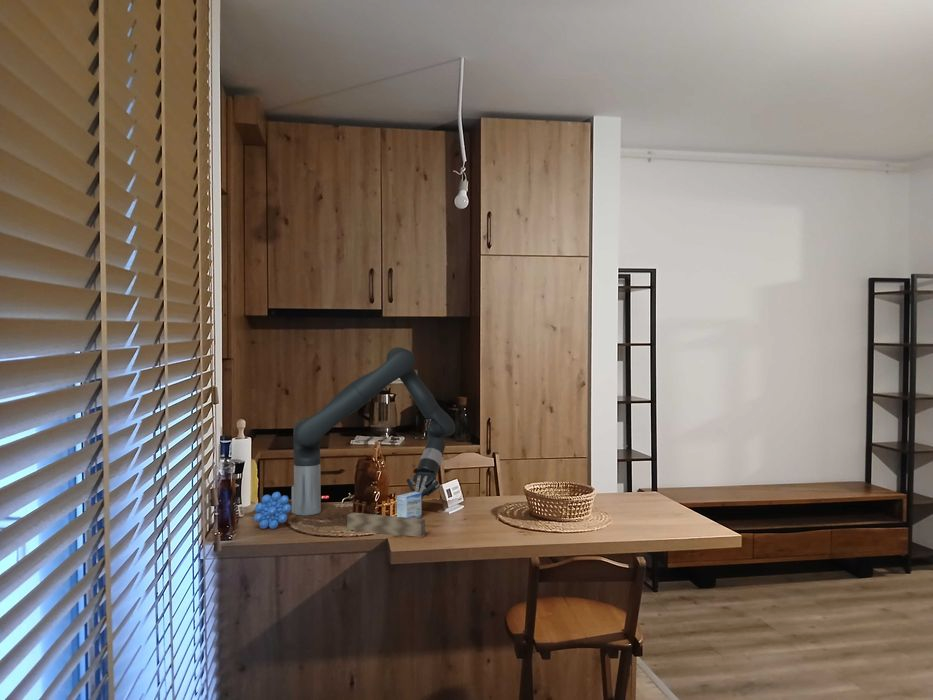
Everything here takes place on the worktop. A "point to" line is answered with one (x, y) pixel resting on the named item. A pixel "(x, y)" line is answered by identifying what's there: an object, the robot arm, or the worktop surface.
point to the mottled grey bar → (386, 524)
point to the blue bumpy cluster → (272, 510)
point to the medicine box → (409, 505)
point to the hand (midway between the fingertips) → (415, 504)
